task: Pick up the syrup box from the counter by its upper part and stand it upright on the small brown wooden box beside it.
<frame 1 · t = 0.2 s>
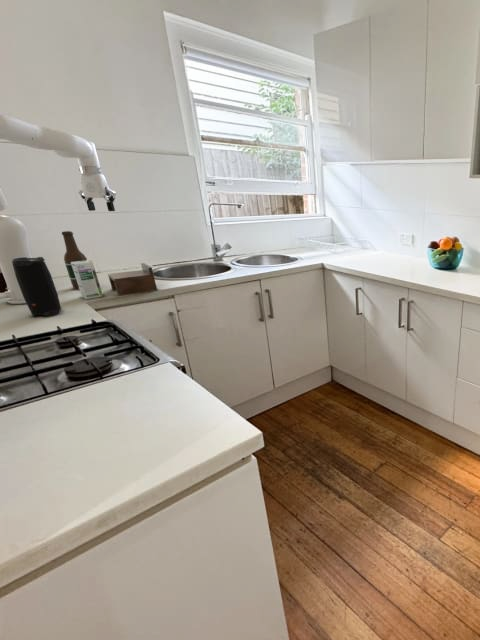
hand: (102, 210, 179), 31 cm above the worktop, tool pointing down, fingers open, 9 cm apart
syrup box: (92, 297, 156), on the worktop
brown wooden box: (134, 289, 167), on the worktop
beer bottle: (84, 287, 169), on the worktop
portable speaker: (47, 314, 135), on the worktop
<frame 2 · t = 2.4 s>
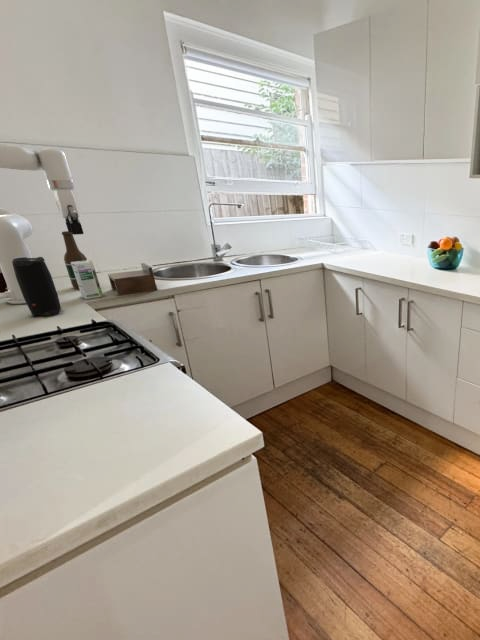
hand: (76, 233, 148), 25 cm above the worktop, tool pointing down, fingers open, 9 cm apart
nothing on the worktop moved.
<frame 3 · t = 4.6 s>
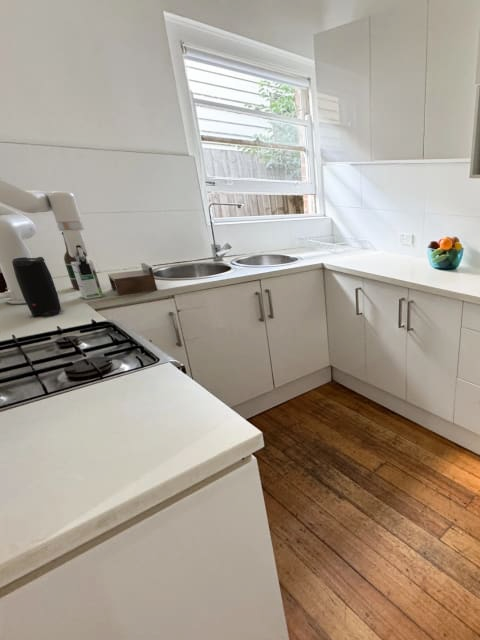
hand: (85, 272, 152), 10 cm above the worktop, tool pointing down, fingers closed on syrup box, 6 cm apart
syrup box: (92, 297, 156), on the worktop, touching gripper
everything else where it was.
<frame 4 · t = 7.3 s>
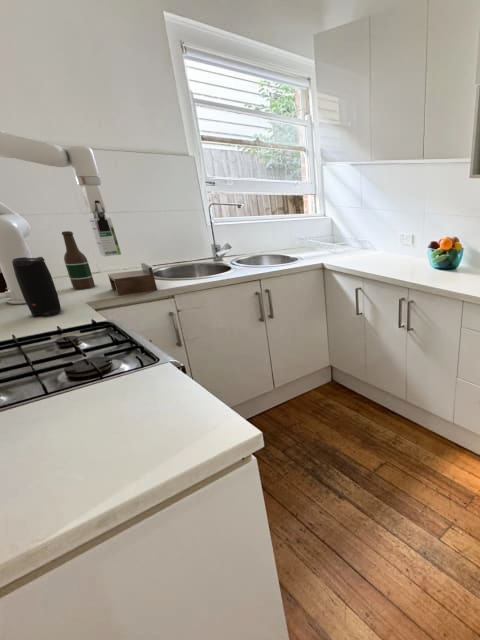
hand: (103, 229, 153), 26 cm above the worktop, tool pointing down, fingers closed on syrup box, 6 cm apart
syrup box: (111, 255, 157), point 16 cm above the worktop, touching gripper
everything else where it was.
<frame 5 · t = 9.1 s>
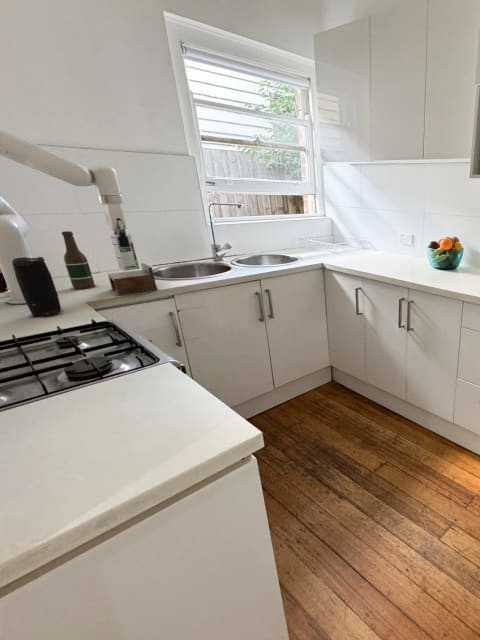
hand: (123, 245, 160), 19 cm above the worktop, tool pointing down, fingers closed on syrup box, 6 cm apart
syrup box: (129, 269, 164), point 9 cm above the worktop, touching gripper
everything else where it was.
when the fingers open (17 cm above the worktop, at t = 10.3 s): syrup box stays where it is, resting on brown wooden box.
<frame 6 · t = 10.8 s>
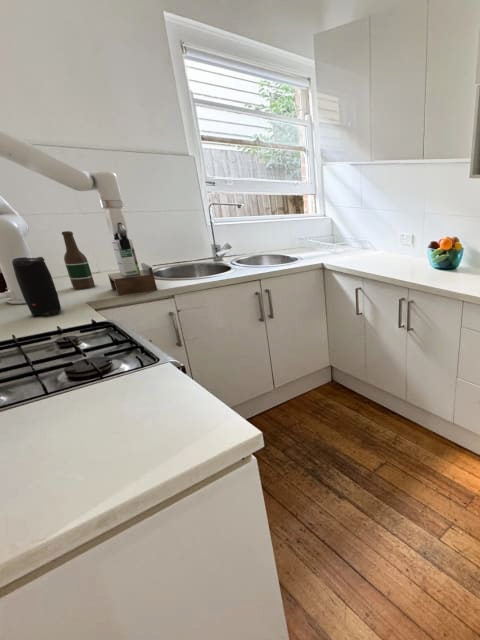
hand: (123, 247, 160), 18 cm above the worktop, tool pointing down, fingers open, 9 cm apart
syrup box: (130, 274, 164), point 7 cm above the worktop, touching brown wooden box
everything else where it was.
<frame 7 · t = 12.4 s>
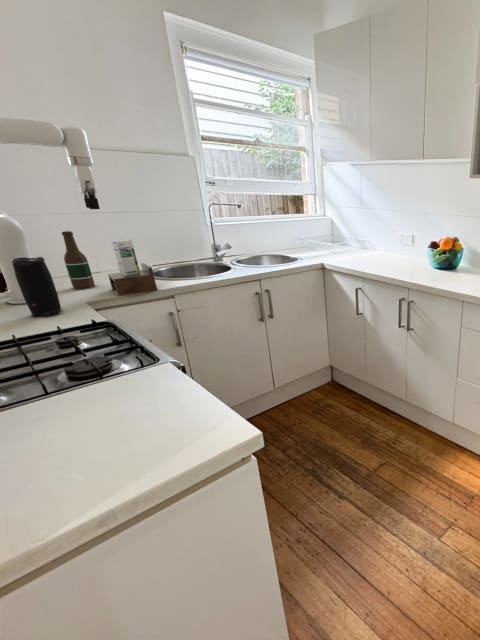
hand: (93, 208, 156), 34 cm above the worktop, tool pointing down, fingers open, 9 cm apart
nothing on the worktop moved.
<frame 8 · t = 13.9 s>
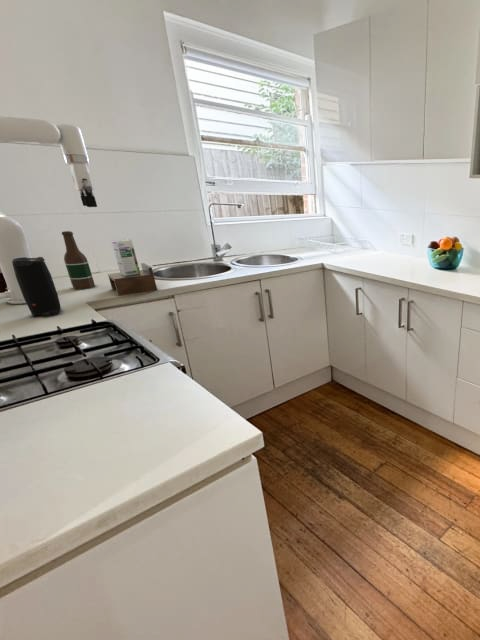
hand: (90, 206, 156), 34 cm above the worktop, tool pointing down, fingers open, 9 cm apart
nothing on the worktop moved.
at the end: syrup box inside the target area on the brown wooden box (0.0 cm from its centre), point 6.8 cm above the brown wooden box's base; syrup box tilted 0°; the gripper is holding nothing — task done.
